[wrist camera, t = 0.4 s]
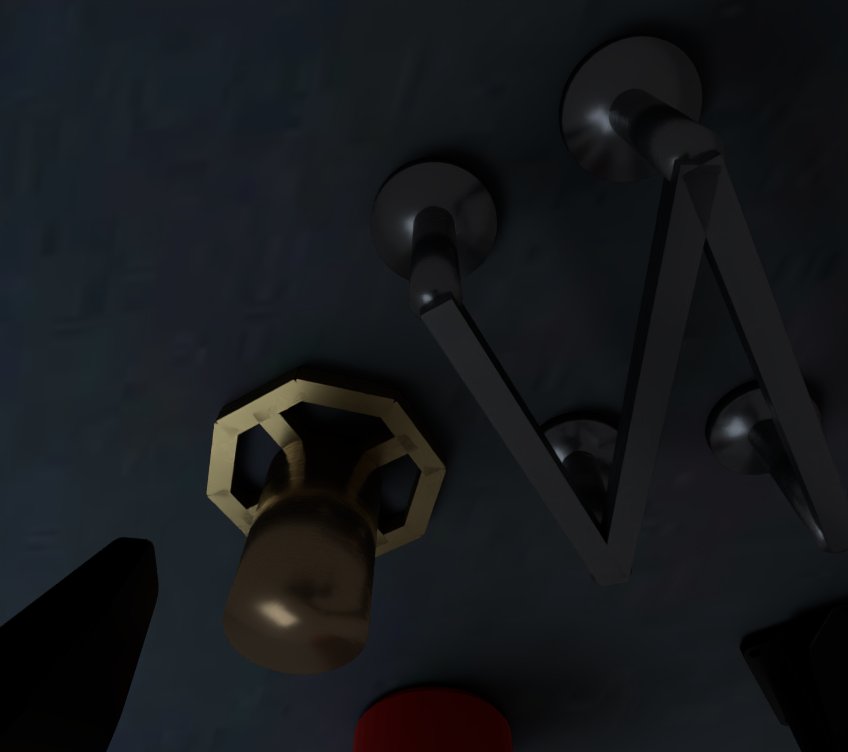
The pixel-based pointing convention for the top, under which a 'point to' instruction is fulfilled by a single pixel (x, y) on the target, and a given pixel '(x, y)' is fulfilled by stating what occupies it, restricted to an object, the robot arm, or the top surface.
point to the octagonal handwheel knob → (315, 518)
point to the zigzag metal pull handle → (658, 319)
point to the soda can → (432, 723)
